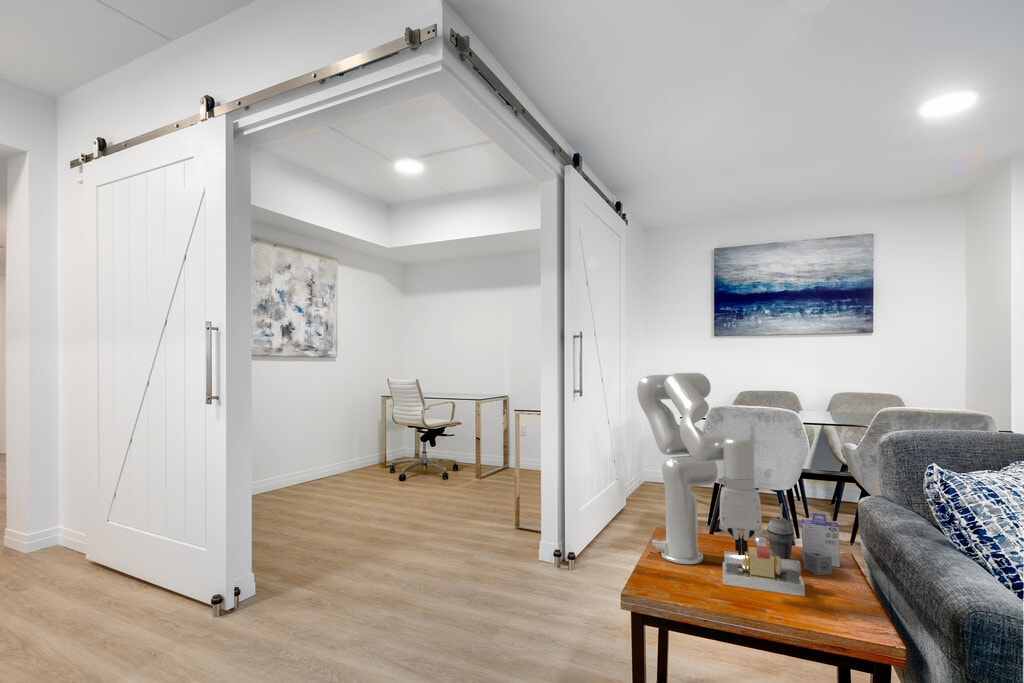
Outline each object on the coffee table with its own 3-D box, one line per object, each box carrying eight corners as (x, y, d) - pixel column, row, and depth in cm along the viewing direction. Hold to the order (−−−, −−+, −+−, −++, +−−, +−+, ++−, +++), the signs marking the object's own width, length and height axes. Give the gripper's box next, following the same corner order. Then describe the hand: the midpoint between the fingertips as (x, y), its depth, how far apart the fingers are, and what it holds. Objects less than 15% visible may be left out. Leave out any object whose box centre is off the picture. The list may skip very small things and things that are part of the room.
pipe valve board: (722, 584, 143) (722, 544, 144) (722, 572, 151) (722, 534, 152) (804, 596, 136) (803, 554, 136) (800, 583, 144) (799, 543, 144)
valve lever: (754, 541, 146) (754, 534, 146) (766, 542, 145) (766, 536, 145) (757, 557, 133) (757, 550, 134) (770, 559, 132) (770, 552, 132)
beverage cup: (788, 566, 156) (787, 499, 156) (799, 576, 148) (798, 506, 149) (763, 565, 156) (762, 498, 157) (773, 575, 149) (771, 505, 150)
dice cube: (804, 568, 154) (803, 551, 154) (818, 567, 155) (818, 550, 155) (817, 575, 149) (816, 557, 149) (831, 573, 150) (831, 556, 150)
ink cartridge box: (838, 561, 159) (837, 514, 160) (841, 568, 154) (839, 519, 155) (801, 556, 163) (800, 510, 164) (803, 562, 158) (802, 515, 159)
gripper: (709, 484, 137) (711, 555, 136) (771, 489, 132) (774, 562, 130) (709, 479, 144) (711, 546, 143) (769, 483, 139) (771, 553, 137)
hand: (741, 553), depth 137 cm, fingers closed
